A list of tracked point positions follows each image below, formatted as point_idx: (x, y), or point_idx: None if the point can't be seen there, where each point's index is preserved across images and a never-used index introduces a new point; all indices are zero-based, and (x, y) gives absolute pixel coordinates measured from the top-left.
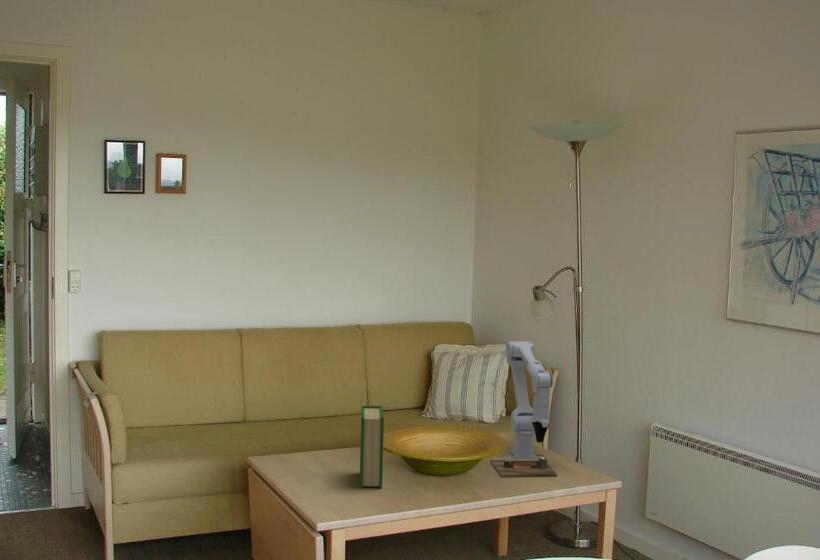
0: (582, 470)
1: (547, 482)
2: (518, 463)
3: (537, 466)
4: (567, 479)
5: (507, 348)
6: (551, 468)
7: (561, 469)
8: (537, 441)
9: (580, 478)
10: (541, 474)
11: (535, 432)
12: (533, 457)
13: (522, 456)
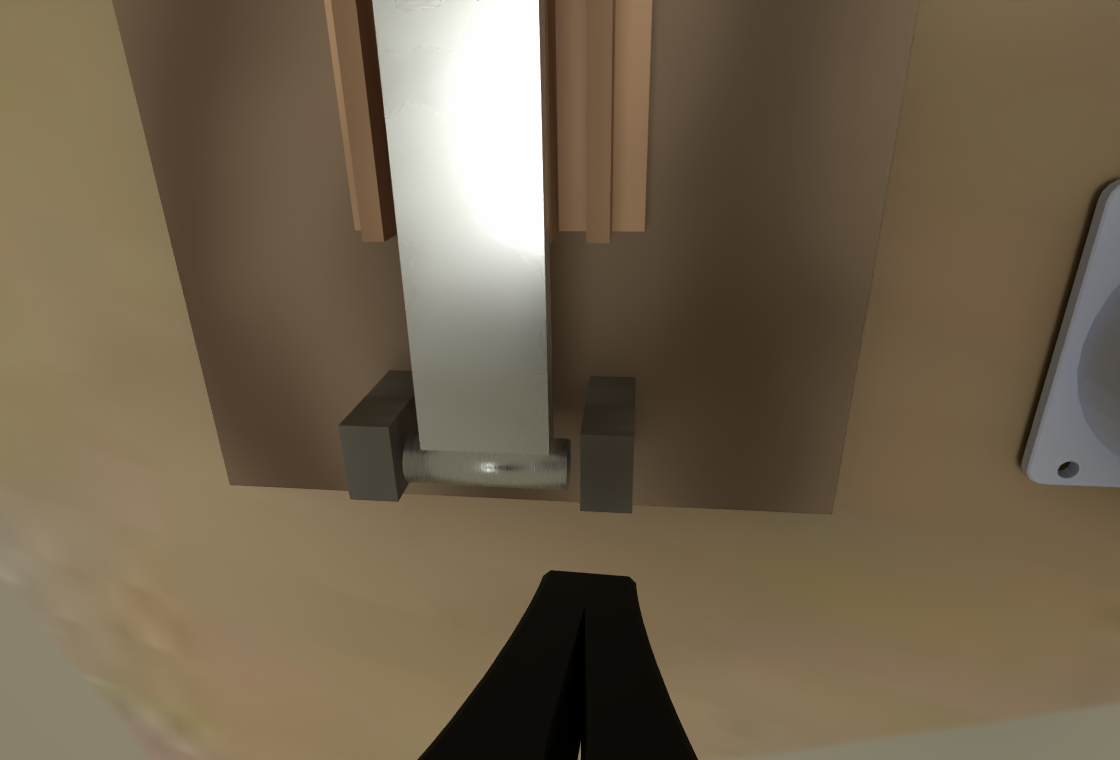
0: None
1: (16, 313)
2: (339, 23)
3: None
4: (174, 537)
5: None
6: (431, 493)
7: (514, 590)
8: (543, 582)
9: (230, 649)
10: (193, 313)
11: (603, 748)
12: (475, 339)
13: (1107, 290)
